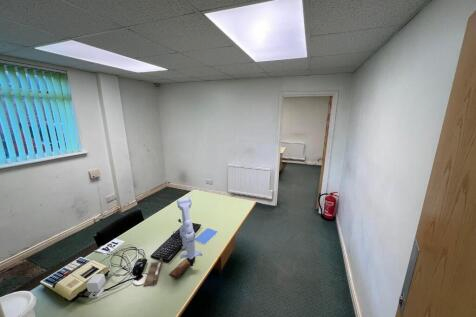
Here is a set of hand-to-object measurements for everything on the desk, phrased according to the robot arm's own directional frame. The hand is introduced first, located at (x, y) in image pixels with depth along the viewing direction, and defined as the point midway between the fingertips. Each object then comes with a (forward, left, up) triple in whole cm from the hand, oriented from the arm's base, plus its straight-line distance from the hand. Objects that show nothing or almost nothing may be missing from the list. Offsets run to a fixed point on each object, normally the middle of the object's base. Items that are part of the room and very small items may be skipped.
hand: (192, 265), depth 128 cm
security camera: (+8, -55, -2) cm, 56 cm away
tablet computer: (-33, +10, -3) cm, 34 cm away
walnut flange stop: (0, -25, -2) cm, 25 cm away
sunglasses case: (-1, -7, -3) cm, 7 cm away
